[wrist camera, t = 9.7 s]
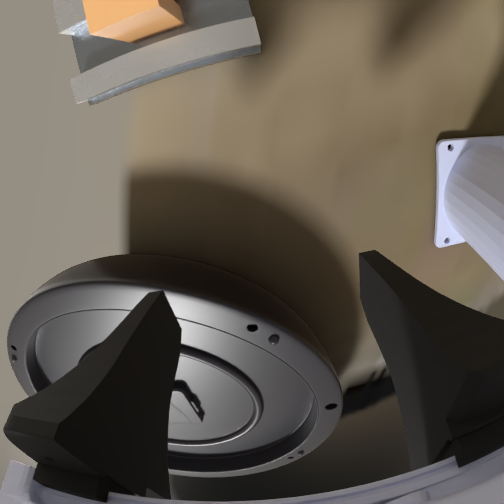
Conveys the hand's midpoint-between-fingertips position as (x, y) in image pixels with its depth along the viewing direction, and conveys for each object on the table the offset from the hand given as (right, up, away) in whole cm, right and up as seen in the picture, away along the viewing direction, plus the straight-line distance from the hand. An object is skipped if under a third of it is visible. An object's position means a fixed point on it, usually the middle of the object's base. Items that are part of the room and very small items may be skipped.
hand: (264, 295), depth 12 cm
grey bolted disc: (-8, -10, +17) cm, 22 cm away
